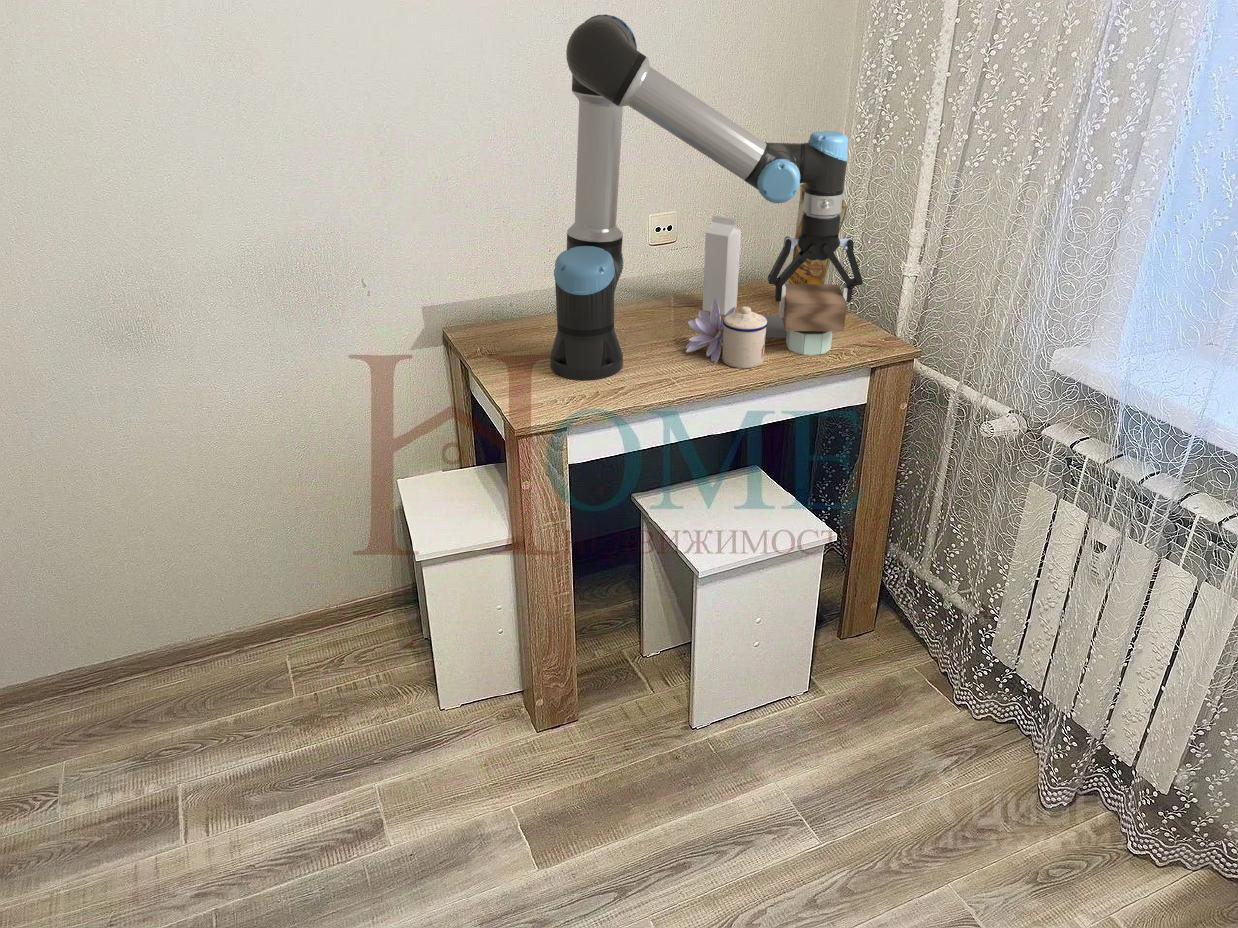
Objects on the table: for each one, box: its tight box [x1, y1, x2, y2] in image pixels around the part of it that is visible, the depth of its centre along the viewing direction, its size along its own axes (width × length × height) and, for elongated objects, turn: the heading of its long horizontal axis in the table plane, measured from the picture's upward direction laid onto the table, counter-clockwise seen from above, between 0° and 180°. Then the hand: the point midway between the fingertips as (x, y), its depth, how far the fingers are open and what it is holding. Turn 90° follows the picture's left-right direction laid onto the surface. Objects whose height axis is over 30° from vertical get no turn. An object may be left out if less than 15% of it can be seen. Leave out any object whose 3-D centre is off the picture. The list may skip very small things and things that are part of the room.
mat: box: [761, 314, 787, 339], centre depth 211 cm, size 14×14×1 cm
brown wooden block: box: [782, 283, 848, 333], centre depth 196 cm, size 12×12×6 cm
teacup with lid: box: [721, 306, 768, 369], centre depth 193 cm, size 12×9×12 cm
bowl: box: [785, 331, 834, 356], centre depth 199 cm, size 9×9×5 cm
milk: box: [702, 215, 742, 316], centre depth 216 cm, size 6×6×22 cm
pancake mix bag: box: [788, 183, 848, 284], centre depth 214 cm, size 7×19×28 cm, turn 14°
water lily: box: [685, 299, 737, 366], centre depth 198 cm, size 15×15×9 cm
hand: (811, 316), depth 197 cm, fingers closed on brown wooden block, 12 cm apart
